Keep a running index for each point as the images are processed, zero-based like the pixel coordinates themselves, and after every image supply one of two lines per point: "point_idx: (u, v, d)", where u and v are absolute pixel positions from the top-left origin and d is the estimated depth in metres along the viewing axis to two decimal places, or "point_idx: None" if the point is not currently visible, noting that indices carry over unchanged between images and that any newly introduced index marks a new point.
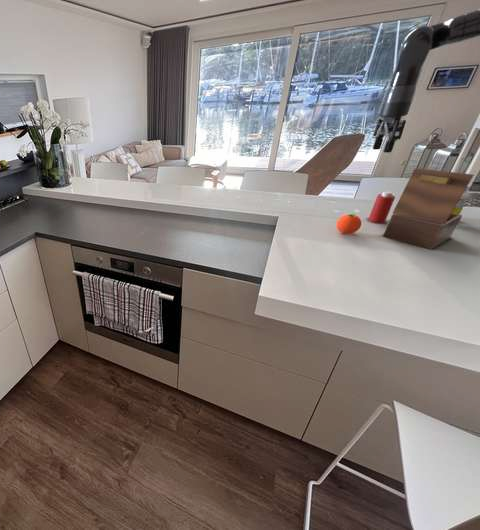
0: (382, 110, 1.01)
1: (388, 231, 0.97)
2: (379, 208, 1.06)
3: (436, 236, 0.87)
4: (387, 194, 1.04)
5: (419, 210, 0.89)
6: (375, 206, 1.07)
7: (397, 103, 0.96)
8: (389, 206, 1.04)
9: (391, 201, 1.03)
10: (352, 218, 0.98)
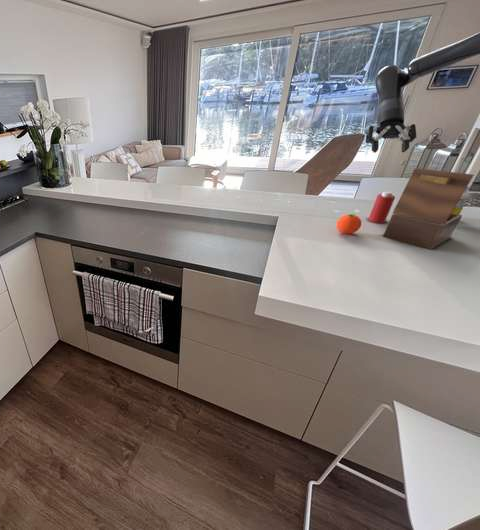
0: None
1: (388, 231, 0.97)
2: (379, 208, 1.06)
3: (436, 236, 0.87)
4: (387, 194, 1.04)
5: (419, 210, 0.89)
6: (375, 206, 1.07)
7: (377, 118, 1.12)
8: (389, 206, 1.04)
9: (391, 201, 1.03)
10: (352, 218, 0.98)
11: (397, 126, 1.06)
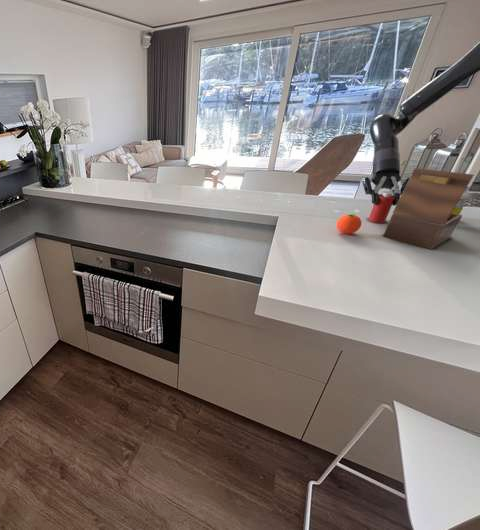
0: None
1: (388, 231, 0.97)
2: (379, 208, 1.06)
3: (436, 236, 0.87)
4: (386, 194, 1.04)
5: (419, 210, 0.89)
6: (375, 206, 1.07)
7: None
8: (389, 206, 1.04)
9: (391, 201, 1.03)
10: (352, 218, 0.98)
11: (393, 177, 1.04)
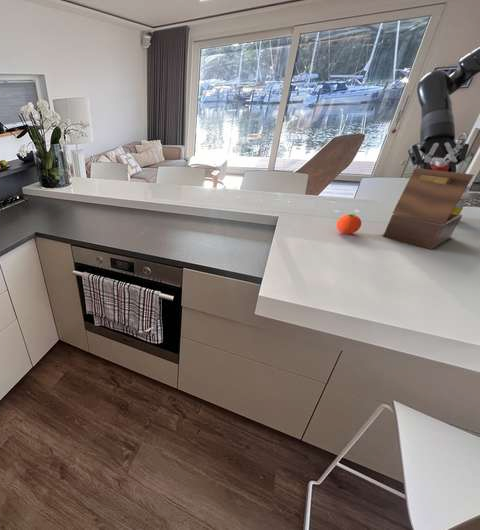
0: None
1: (388, 231, 0.97)
2: None
3: (436, 236, 0.87)
4: (440, 164, 0.88)
5: (419, 210, 0.89)
6: None
7: (420, 133, 0.95)
8: None
9: None
10: (352, 218, 0.98)
11: (447, 143, 0.89)
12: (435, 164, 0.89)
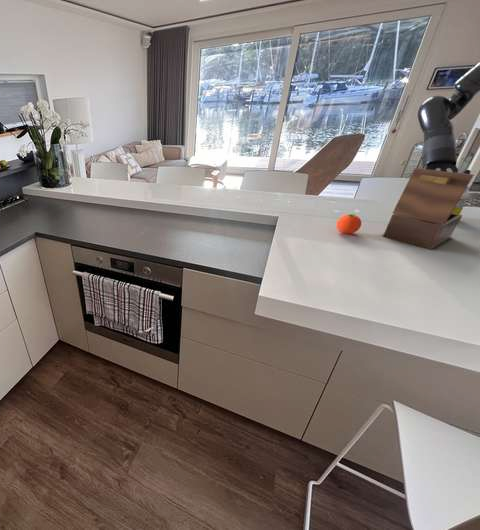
0: None
1: (388, 231, 0.97)
2: None
3: (436, 236, 0.87)
4: None
5: (419, 210, 0.89)
6: None
7: (422, 157, 0.95)
8: None
9: None
10: (352, 218, 0.98)
11: (449, 169, 0.90)
12: None
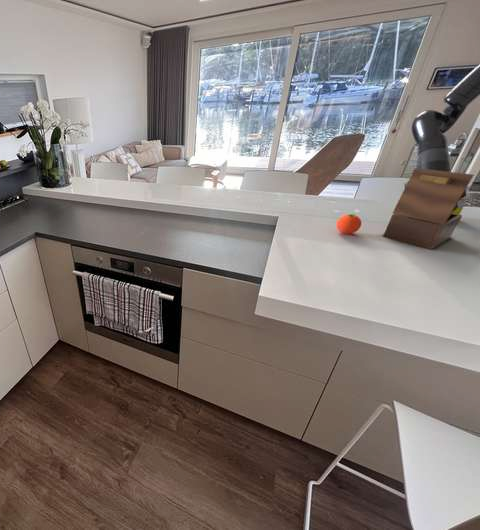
0: None
1: (388, 231, 0.97)
2: None
3: (436, 236, 0.87)
4: None
5: (419, 210, 0.89)
6: None
7: None
8: None
9: None
10: (352, 218, 0.98)
11: None
12: None
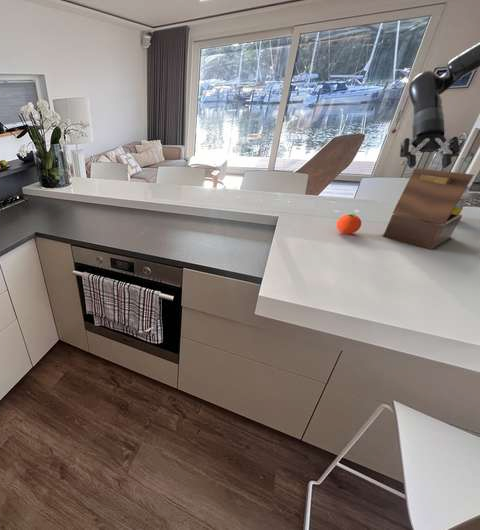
0: None
1: (388, 231, 0.97)
2: None
3: (436, 236, 0.87)
4: None
5: (419, 210, 0.89)
6: None
7: (412, 130, 1.01)
8: None
9: None
10: (352, 218, 0.98)
11: (437, 139, 0.95)
12: None
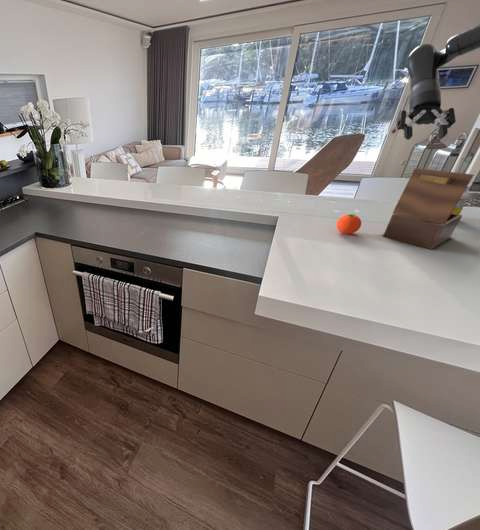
0: None
1: (388, 231, 0.97)
2: None
3: (436, 236, 0.87)
4: None
5: (419, 210, 0.89)
6: None
7: (409, 103, 1.02)
8: None
9: None
10: (352, 218, 0.98)
11: (433, 110, 0.96)
12: None
